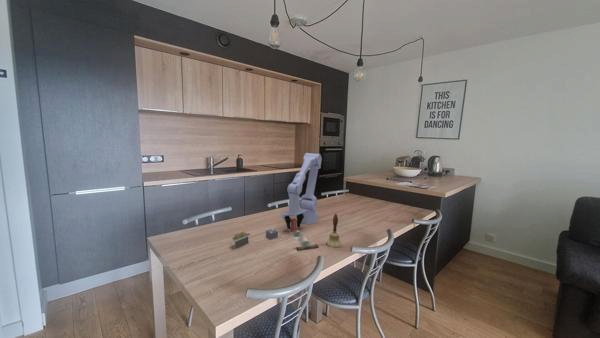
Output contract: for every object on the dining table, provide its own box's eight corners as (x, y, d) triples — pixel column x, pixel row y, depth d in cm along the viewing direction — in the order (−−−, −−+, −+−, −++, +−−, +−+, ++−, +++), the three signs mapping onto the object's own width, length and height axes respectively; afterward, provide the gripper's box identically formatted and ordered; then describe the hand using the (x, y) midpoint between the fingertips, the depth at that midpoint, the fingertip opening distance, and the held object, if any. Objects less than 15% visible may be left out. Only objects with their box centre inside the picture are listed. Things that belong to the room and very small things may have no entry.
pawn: (295, 228, 142) (295, 217, 141) (298, 231, 138) (298, 219, 137) (289, 229, 141) (289, 217, 140) (291, 232, 137) (291, 220, 136)
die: (272, 236, 133) (272, 228, 132) (277, 239, 130) (277, 231, 129) (265, 238, 130) (265, 230, 130) (270, 241, 127) (270, 233, 126)
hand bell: (343, 241, 129) (344, 212, 127) (340, 248, 122) (342, 217, 119) (327, 239, 132) (329, 210, 130) (324, 245, 124) (325, 215, 122)
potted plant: (218, 248, 119) (217, 235, 118) (247, 236, 133) (247, 225, 132) (233, 256, 112) (233, 243, 111) (262, 243, 126) (262, 231, 125)
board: (300, 228, 145) (300, 226, 145) (318, 247, 122) (318, 245, 122) (282, 231, 141) (282, 229, 141) (297, 251, 118) (297, 248, 118)
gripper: (301, 201, 144) (301, 223, 146) (279, 204, 137) (278, 227, 139) (308, 204, 138) (307, 227, 140) (284, 207, 131) (284, 231, 133)
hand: (293, 227), depth 139 cm, fingers open, 6 cm apart
